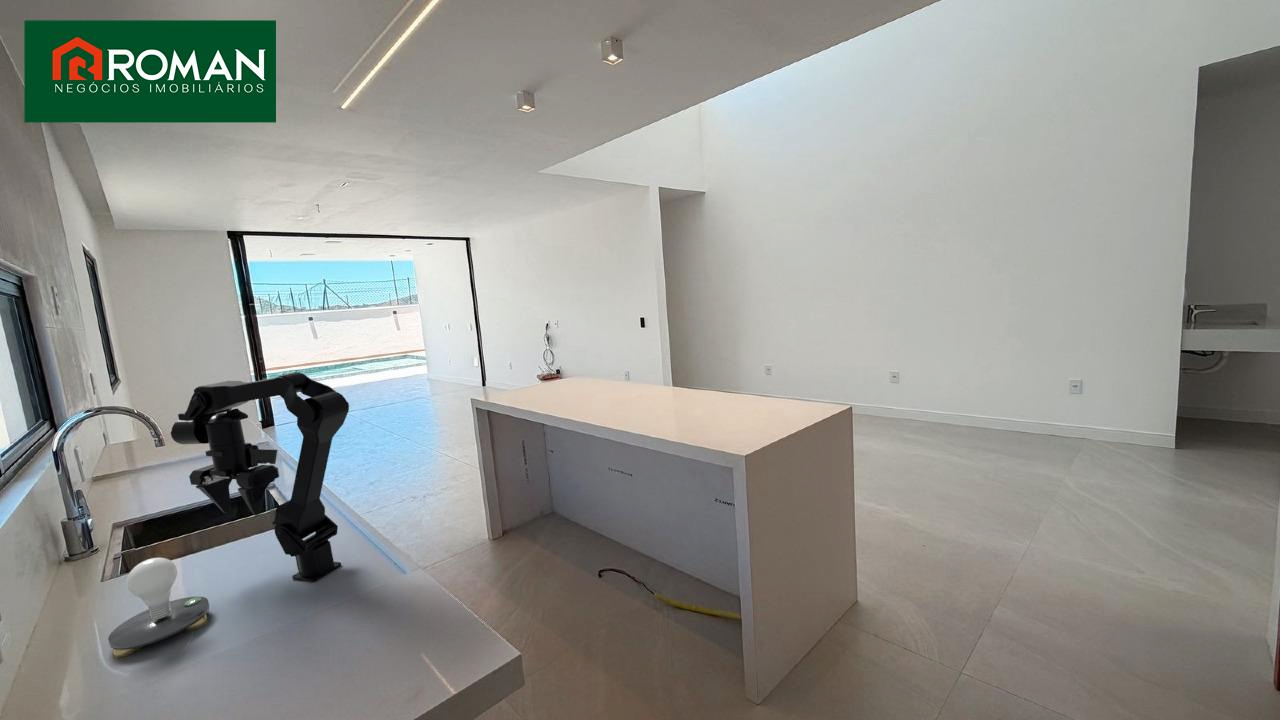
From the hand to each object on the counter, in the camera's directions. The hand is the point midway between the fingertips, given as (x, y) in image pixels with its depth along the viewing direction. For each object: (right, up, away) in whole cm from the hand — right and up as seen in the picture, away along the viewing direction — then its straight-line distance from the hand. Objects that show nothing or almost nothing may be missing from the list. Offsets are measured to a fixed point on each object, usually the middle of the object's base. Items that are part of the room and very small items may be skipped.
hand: (242, 513), depth 108 cm
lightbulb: (0, -13, -18) cm, 22 cm away
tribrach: (0, -16, -18) cm, 24 cm away
